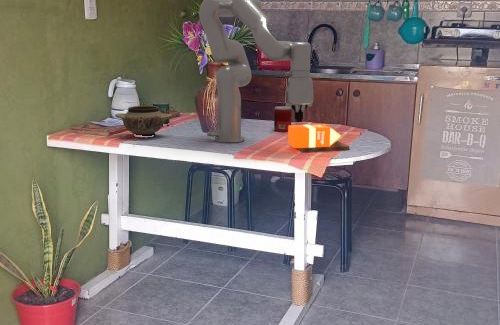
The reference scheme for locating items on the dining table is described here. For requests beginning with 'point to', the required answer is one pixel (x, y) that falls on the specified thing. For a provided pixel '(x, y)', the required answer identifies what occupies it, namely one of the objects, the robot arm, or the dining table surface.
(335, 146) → the walnut board
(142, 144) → the dining table surface
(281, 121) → the canned food
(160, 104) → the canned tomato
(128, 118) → the ceramic bowl
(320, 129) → the orange juice
